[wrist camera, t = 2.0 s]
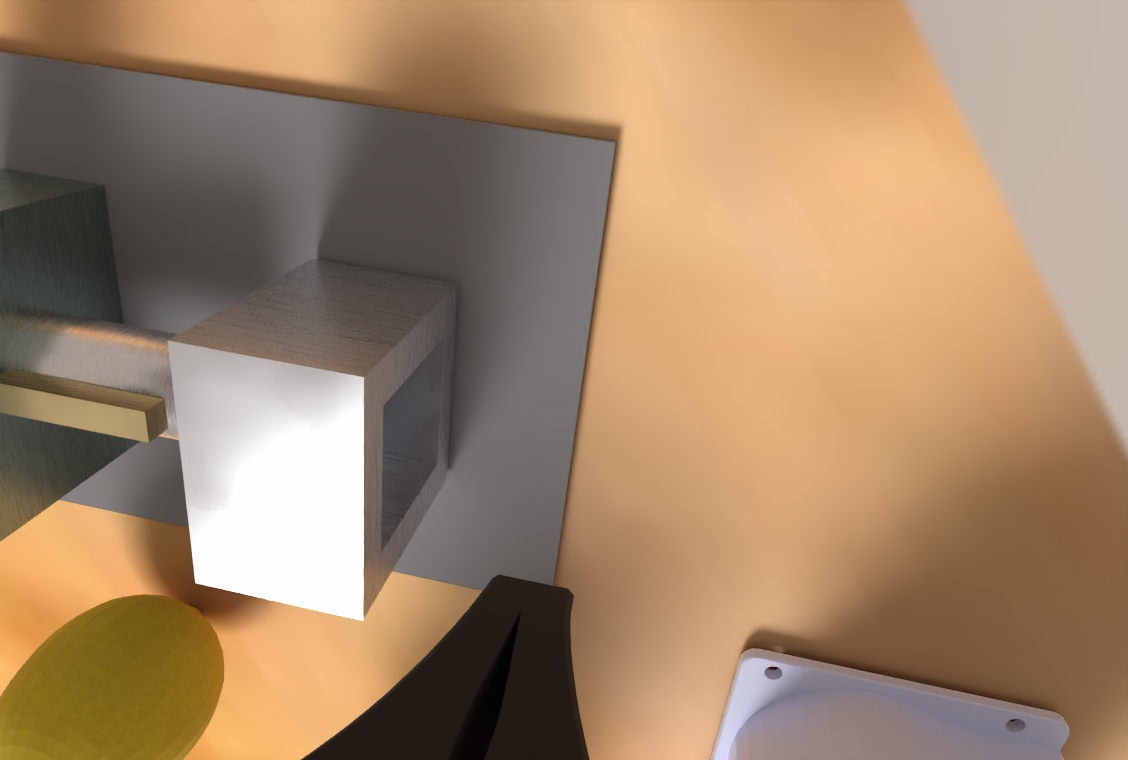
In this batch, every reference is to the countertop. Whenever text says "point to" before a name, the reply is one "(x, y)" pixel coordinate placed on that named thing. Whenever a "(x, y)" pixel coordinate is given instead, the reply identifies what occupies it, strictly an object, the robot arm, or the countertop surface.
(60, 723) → the lemon
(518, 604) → the robot arm
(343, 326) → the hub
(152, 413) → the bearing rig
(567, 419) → the mat
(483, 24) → the countertop surface
